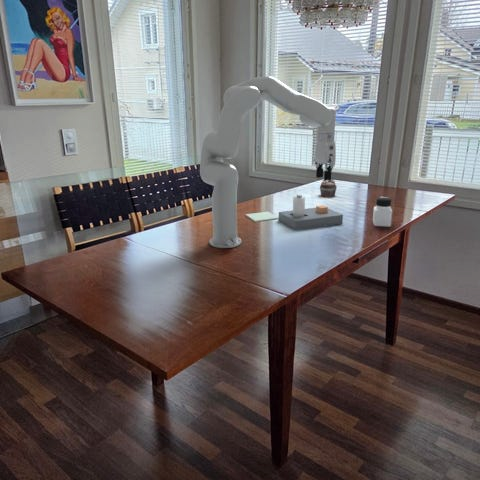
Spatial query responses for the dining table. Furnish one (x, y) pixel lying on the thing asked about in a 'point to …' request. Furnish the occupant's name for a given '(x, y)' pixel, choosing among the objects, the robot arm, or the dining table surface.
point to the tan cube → (321, 209)
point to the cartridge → (298, 206)
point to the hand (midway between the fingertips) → (323, 178)
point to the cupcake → (328, 188)
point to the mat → (262, 216)
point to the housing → (310, 219)
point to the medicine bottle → (382, 212)
